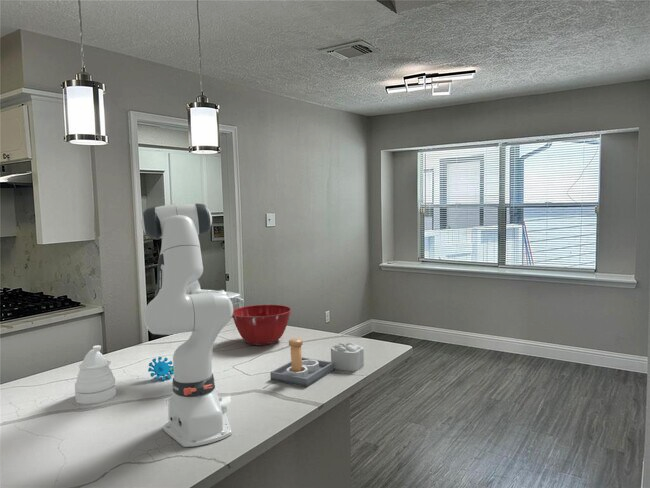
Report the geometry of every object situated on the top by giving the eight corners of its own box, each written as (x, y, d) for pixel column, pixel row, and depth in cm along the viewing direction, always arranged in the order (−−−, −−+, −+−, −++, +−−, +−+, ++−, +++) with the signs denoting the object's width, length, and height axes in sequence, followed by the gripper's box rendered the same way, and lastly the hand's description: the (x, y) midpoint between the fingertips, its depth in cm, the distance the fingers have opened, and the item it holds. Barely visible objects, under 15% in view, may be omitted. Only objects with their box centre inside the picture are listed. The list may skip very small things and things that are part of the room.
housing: (270, 380, 179) (270, 370, 178) (299, 364, 196) (299, 355, 196) (307, 387, 171) (306, 377, 170) (334, 369, 188) (333, 361, 188)
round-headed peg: (306, 376, 179) (305, 341, 178) (294, 379, 176) (292, 343, 175) (300, 372, 183) (298, 337, 182) (287, 375, 181) (286, 340, 179)
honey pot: (124, 392, 171) (121, 342, 169) (93, 406, 159) (89, 353, 158) (98, 387, 176) (95, 339, 175) (67, 400, 164) (63, 349, 163)
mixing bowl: (238, 334, 245) (237, 304, 244) (294, 332, 245) (293, 303, 243) (226, 351, 217) (225, 317, 215) (289, 349, 216) (288, 315, 215)
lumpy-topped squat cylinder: (354, 372, 185) (354, 350, 184) (325, 367, 192) (325, 345, 191) (366, 364, 194) (366, 343, 193) (338, 359, 201) (337, 339, 200)
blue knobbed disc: (150, 380, 177) (147, 356, 183) (146, 388, 181) (143, 364, 186) (180, 377, 184) (176, 354, 189) (175, 385, 187) (171, 362, 193)
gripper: (187, 298, 179) (215, 300, 173) (224, 289, 197) (250, 291, 190) (188, 314, 180) (215, 318, 173) (225, 304, 198) (251, 306, 191)
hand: (234, 303), depth 182 cm, fingers open, 8 cm apart
